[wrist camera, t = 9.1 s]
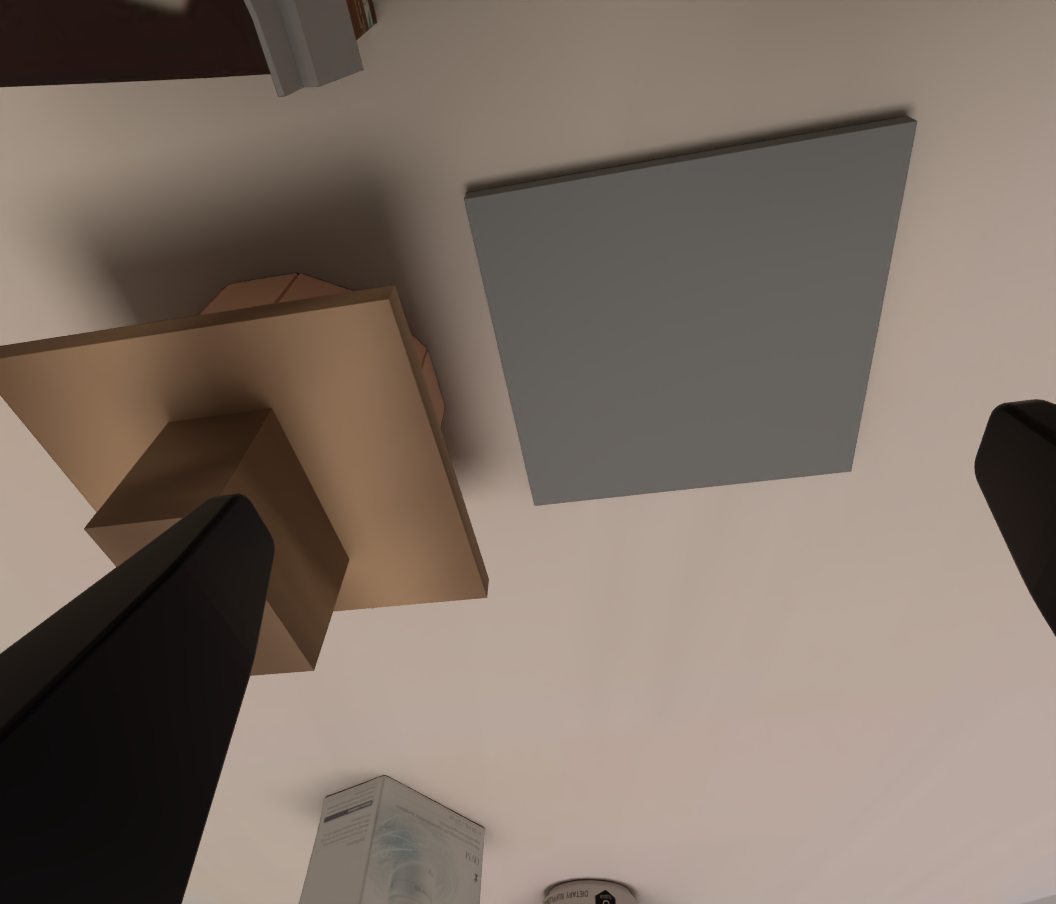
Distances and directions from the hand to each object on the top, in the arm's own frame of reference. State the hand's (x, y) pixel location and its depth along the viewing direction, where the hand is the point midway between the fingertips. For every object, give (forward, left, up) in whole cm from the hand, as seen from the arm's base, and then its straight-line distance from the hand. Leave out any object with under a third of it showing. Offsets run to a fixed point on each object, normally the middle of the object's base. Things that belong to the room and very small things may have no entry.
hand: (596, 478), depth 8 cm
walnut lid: (+10, +6, -8) cm, 14 cm away
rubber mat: (-3, +6, -13) cm, 15 cm away
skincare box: (+17, +41, -13) cm, 46 cm away
